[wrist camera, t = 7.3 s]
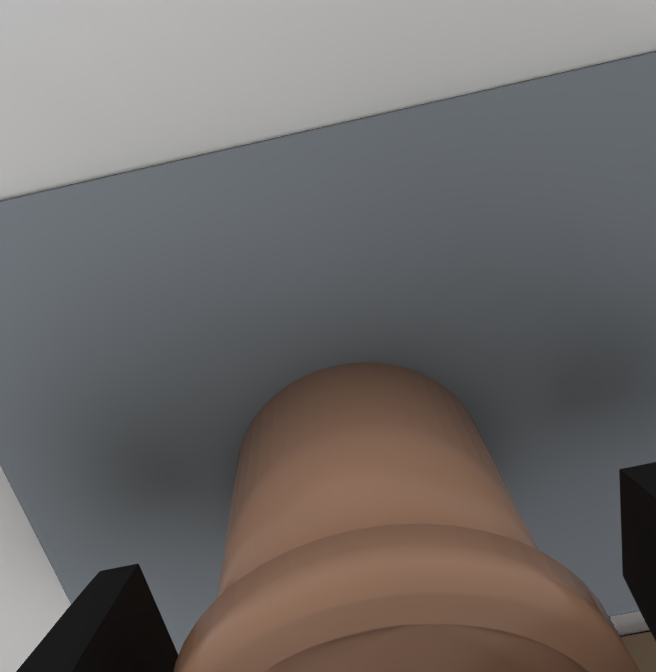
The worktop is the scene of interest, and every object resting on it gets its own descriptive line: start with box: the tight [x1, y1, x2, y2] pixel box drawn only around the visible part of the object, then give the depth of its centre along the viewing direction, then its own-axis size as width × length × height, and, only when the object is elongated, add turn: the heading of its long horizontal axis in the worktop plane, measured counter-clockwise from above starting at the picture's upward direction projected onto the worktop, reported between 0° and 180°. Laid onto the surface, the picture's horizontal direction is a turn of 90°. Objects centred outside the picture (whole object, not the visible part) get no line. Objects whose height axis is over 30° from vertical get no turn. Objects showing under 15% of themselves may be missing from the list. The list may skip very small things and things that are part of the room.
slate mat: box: [0, 51, 656, 655], centre depth 13 cm, size 14×12×1 cm
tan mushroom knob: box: [173, 362, 640, 672], centre depth 10 cm, size 6×6×6 cm
